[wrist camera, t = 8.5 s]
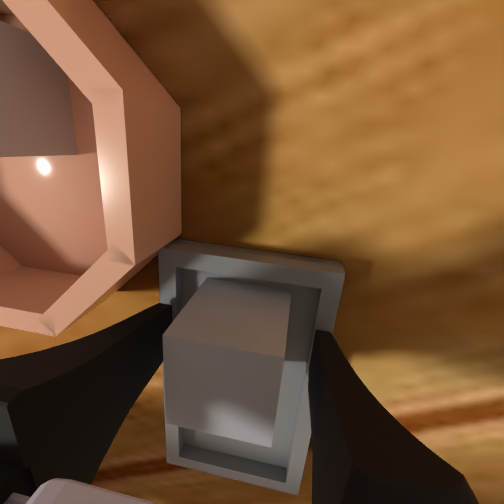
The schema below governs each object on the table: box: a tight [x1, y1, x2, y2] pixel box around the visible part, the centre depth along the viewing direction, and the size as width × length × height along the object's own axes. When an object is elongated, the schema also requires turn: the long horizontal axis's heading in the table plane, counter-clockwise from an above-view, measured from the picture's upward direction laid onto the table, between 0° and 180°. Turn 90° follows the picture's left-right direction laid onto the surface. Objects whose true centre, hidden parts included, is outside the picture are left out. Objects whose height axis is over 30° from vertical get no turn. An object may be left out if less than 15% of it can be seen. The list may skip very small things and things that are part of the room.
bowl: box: [0, 0, 182, 337], centre depth 12 cm, size 13×13×4 cm
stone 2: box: [163, 278, 291, 448], centre depth 12 cm, size 4×4×4 cm
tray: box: [158, 239, 345, 496], centre depth 15 cm, size 14×8×1 cm, turn 176°
